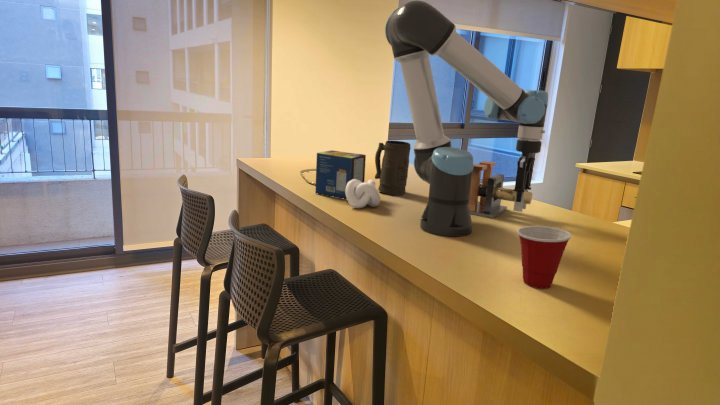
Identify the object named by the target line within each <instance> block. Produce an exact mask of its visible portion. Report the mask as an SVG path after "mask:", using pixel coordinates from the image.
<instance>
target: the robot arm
mask: <svg viewBox="0 0 720 405" xmlns="http://www.w3.org/2000/svg"><path fill="white" fill-rule="evenodd" d="M456 28H457V27H456V25H455V24H454V23H453V21H452V20H450V19H449V18H447V17H446V15H444V14H443V13H442V12H440V10H438V9H437V8H436V7H434V6H433V5H432V4H430V3H428V2H426V1H423V0H411V1H407V2H406V3H404V4H403V5H402V6H400V7H397V8H396V9H395V10H394V11H393V12H392V13H391V14H390V15H389V16H388V18H387V20H386V23H385V26H384V33H385V38H386V41H387V43H388V44H389V45H390V46H391V50H392V54H393V59H394V60H395V61H397V62H398V63H399V64H400V68H401V72H402V77H403V82H404V86H405V92H406V96H407V101H408V106H409V110H410V114H411V119H412V124H413V125H412V126H413V129H414V133H415V139H416V142H414V145H413V146H412V147H413V153H414V159H413V167H414V171H415V172H416V174H417V176H418V178H420V179H421V180H422V181H423V182H425V183H427V184H429V189H428V191H429V192H428V199H427V200H428V201H427V204H426V206H425V208H424V211H423V213H422V215H421V218H420V224H419V225H420V226H419V227H420V228H421V230H423V231H426V232H427V233H430V234H434V235H439V236H446V237H464V236H468V235H470V234H471V233H472V231H473V221H472V216H471V214H470V211H469V196H470V188H471V180H472V172H473V167H474V156H473V154H472V153H471V152H470V151H468V150H465V149H460V148H457V147H452V143H451V138H449V137H448V136H446V135H445V134H444V128H443V122H442V117H441V112H440V106H439V103H438V102H439V100H438V96H437V91H436V86H435V82H434V81H435V80H434V77H433V70H432V66H431V61H430V56H438V57H439V58H440V59H441V60H443V61H444V62H445V63H446V64H447V65H449V66H450V67H451V68H453V69H454V70H455V71H456V72H457V73H458V74H459V75H461V76H462V77H464V79H466V80H467V82H469V83H470V84H472V86H474V87H475V88H476V89H477V90H479V91H480V92H481V93H483V94H484V95H485V96H486V97H487V98H486V99H485V101H484V108H483V111H484V115H485V117H486V119H489V120H495V121H496V120H497V121H498V120H499V121H500V120H501V121H502V120H503V121H509V122H516V123H519V124H518V130H517V135H516V136H517V138H518V139H517V140H516V145H515V146H516V147H515V150H516V151H517V152H519V153H520V152H521V156H519V158H518V160H517V169H516V178H515V185H514V189H513V191H516V195H515V202H514V204H513V211H514V212H519V213H522V212H523V210H526V208H527V204H524V196H525V192H524V191H526V192H529V191H531V190H532V187H531V186H532V185H531V183H532V176H533V171H534V165H535V161H536V158H535V157H534V154H539V153H540V152H541V148H542V141H541V140H542V139H543V135H544V134H545V133H546V130H544V127H545V121H546V115H547V109H548V102H549V93H548V92H547V91H546V90H535V89H533V90H532V89H527V90H524V89H523V88H521V86H519V85H518V84H517V83H515V81H513V80H512V79H511V78H510V77H509V76H508V75H506V74H505V72H503V70H501V69H500V68H499V67H497V66H496V65H495V64H494V63H493V62H491V60H489V59H488V58H487V57H486V56H484V54H483V53H481V52H480V51H479V50H478V49H477V48H476V47H474V46H473V45H472V44H471V43H470V42H469V41H467V40H466V39H465V38H464V37H463V36H462V35H461V34H460V33H459V32H457V29H456Z"/></svg>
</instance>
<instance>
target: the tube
mask: <svg viewBox="0 0 720 405" xmlns="http://www.w3.org/2000/svg"><path fill="white" fill-rule="evenodd" d="M513 190H514V189H513V188H507V187H503V188H501V187H495V194H494V198H495V199H501V201H508V202H515V195H516V191H513ZM524 192H525V196H524V204H526V205H531V204H532V200H533V192H532V191H531V192H530V191H528V192H526V191H524ZM486 193H487V185H484V184H482V183H480V186H479V194H478V197H480V196H481V197H486Z"/></svg>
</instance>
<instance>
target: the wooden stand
mask: <svg viewBox="0 0 720 405" xmlns="http://www.w3.org/2000/svg"><path fill="white" fill-rule="evenodd" d="M473 165H474V167H473V172H472V180H471V188H470V196H469V211H470V215H474V216H478V217H484V218H489V219H493V218H494V219H495V218H497V217H499V214H500V215H501V214H503V213H504V212H505V211H507V210H508V206H505V205H501V202H502V200H501V199H495V198H494V194H495V187H501V188H504V180H505V174H502V173H501V174H500V173H497V174H496V175H493V167H495V166H496V161H488V160H482V161H481V162H480V161H479V163H473ZM482 171H483V172H482ZM481 175H482V179H481ZM492 175H493V176H492ZM481 180H482V181H481ZM480 184H484V185H487V193H486V197H481V196H478V194H479V186H480ZM479 197H480V198H479ZM506 209H507V210H506ZM503 211H504V212H503Z"/></svg>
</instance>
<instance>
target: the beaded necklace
mask: <svg viewBox="0 0 720 405" xmlns="http://www.w3.org/2000/svg"><path fill="white" fill-rule="evenodd" d="M309 171H316V168H308V169H307V168H306V169H302V170H300V171H299V173H300V175H301V176H302V178H304V179H305V181H306V182H307V183H308V184H310V183H311V184H310V185H312V184H315V185H314V186H316V182H313V181H310V180H308V178H307V177H306V176H305V175H304V174H305V173H304V172H307V173H310V172H309ZM302 173H304V174H302ZM303 175H304V176H305V177H306V178H307V179H306V178H305V177H304V176H303Z"/></svg>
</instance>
